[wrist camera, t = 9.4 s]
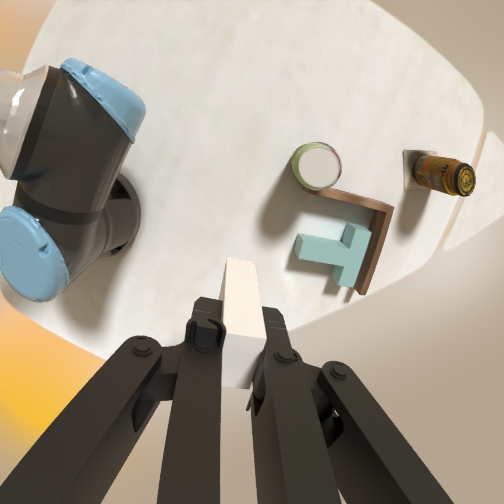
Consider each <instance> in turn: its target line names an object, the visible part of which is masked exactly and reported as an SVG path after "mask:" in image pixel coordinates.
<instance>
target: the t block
mask: <svg viewBox="0 0 504 504" xmlns="http://www.w3.org/2000/svg"><path fill="white" fill-rule="evenodd" d="M371 233H372V232H370V231H369V230H367V229H366V228H364V227H363V226H361V225H357V224H352V223H348V222H347V224H346V228H345V231H344V235H343V238H342V241H337V240H332V239H327V238H322V237H317V236H311V235H306V234H301V233H298V236H297V239H296V243H295V247H294V251H295V253H296V255H297V257H298V259H303V260H309V261H315V262H321V263H327V264H333V265H334V268H333V271H332V274H331V276H332V277H333V279H334V280H335V282H336V283H337V285H339V286H346V287H354V284H355V281H356V278H357V276H358V273H359V270H360V267H361V264H362V261H363V258H364V255H365V252H366V249H367V246H368V243H369V239H370V236H371Z"/></svg>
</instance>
